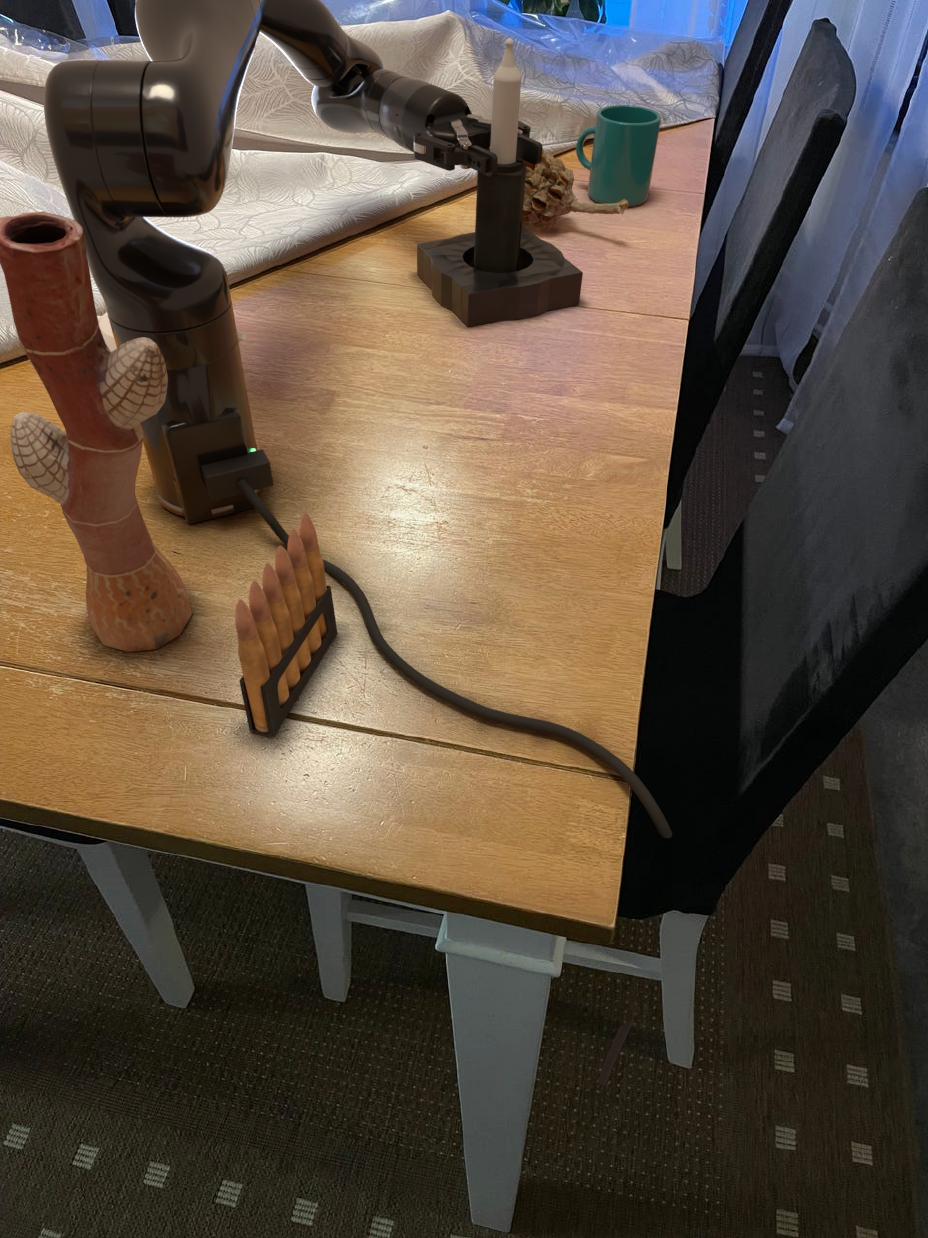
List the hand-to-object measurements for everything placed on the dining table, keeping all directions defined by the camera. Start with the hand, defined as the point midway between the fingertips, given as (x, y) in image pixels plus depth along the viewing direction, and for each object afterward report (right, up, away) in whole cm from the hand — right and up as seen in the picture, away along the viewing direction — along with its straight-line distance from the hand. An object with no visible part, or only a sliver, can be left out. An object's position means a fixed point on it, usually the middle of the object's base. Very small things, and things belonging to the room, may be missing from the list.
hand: (517, 160), depth 96 cm
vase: (-30, -51, -29) cm, 66 cm away
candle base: (-2, -10, +12) cm, 16 cm away
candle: (-2, -9, +11) cm, 14 cm away
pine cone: (+7, +4, +26) cm, 27 cm away
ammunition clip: (-18, -55, -33) cm, 67 cm away
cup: (+16, +13, +36) cm, 41 cm away
